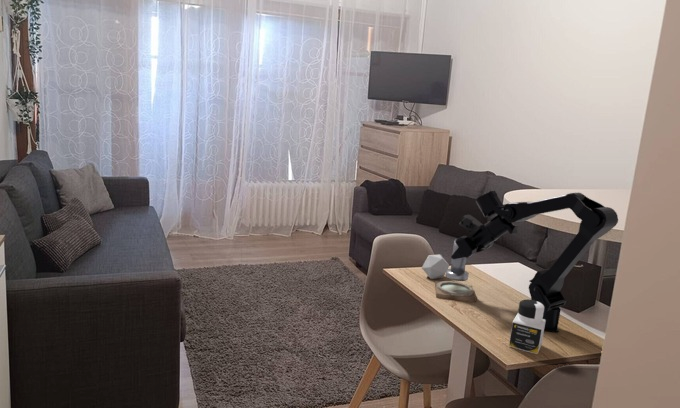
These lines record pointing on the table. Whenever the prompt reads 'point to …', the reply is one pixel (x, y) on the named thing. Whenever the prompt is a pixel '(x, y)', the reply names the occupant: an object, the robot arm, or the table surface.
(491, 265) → the table surface
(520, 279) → the table surface
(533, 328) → the medicine bottle
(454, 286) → the board
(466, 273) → the silver round peg
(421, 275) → the table surface
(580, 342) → the table surface
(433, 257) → the die
